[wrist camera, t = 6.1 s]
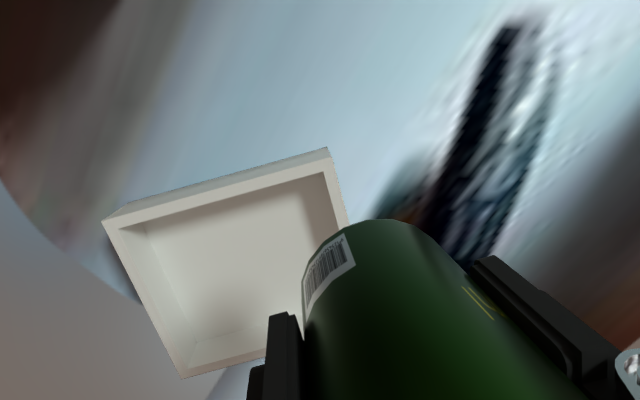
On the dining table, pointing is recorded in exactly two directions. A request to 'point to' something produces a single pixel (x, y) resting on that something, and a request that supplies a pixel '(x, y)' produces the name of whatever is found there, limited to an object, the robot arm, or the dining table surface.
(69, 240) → the dining table surface
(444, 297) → the beer can
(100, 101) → the dining table surface
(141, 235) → the tray
